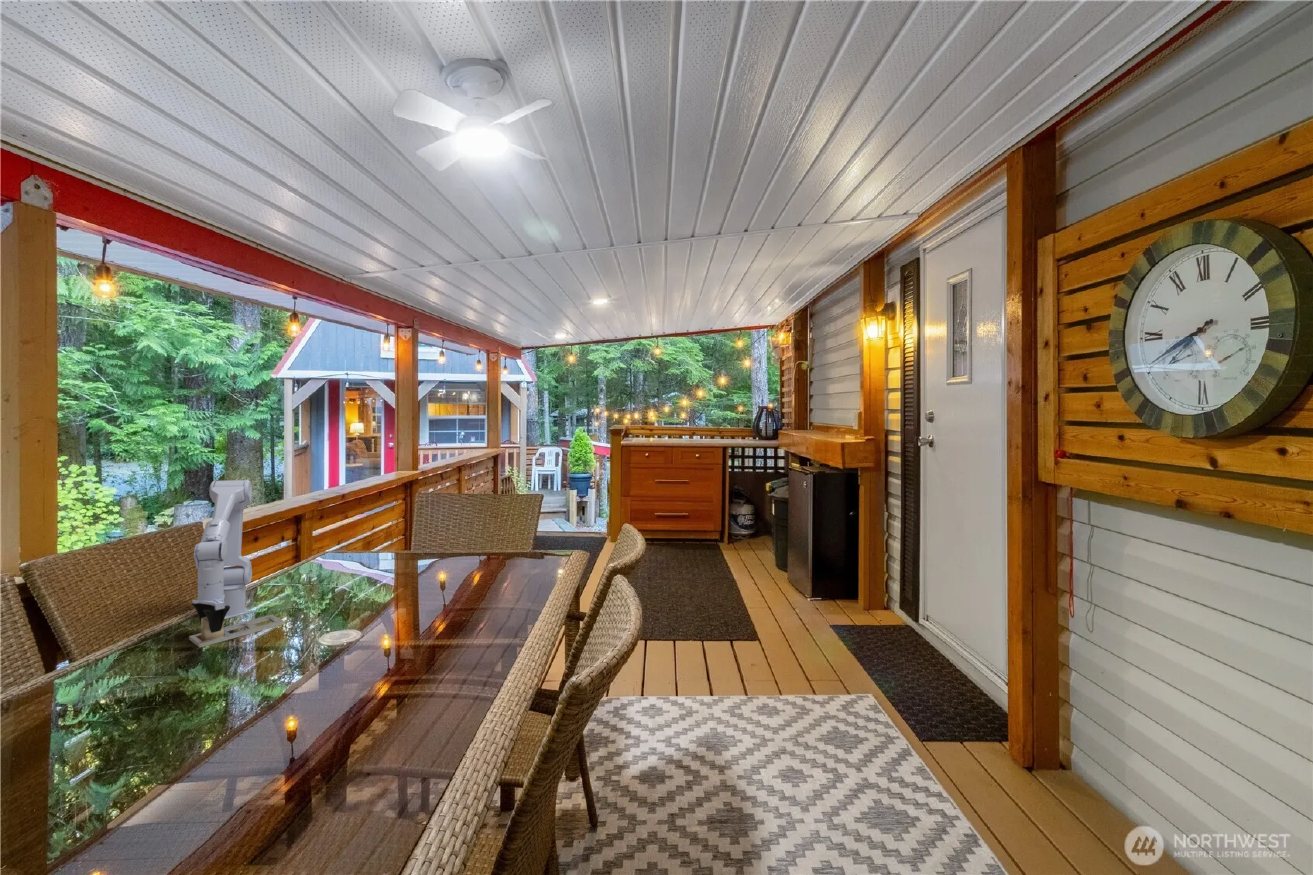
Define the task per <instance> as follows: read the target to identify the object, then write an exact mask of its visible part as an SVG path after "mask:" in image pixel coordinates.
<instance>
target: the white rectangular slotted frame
mask: <svg viewBox="0 0 1313 875" xmlns="http://www.w3.org/2000/svg"><path fill="white" fill-rule="evenodd" d="M267 621H272V622H269V623H265V624H261V625H259V626H257V625H255V624H260V623H263V622H267ZM284 622H285V621H284V620H283V619H281V618H279V617H277V616H276V615H274V614H269V615H265V616H262V617H258V618H253V619H250V620H246V621H242V622H238V623H234V624H230V625H227V626H224V636H221V637H217V638H213V639H209V640H206V641H204V640H203V639H201V632H200V633H196V634H193V635H189V636H188V640H189V641H190V642H192V643H193V644H194V645H195V646H197V647H198V648H203V647H206V646H210V645H214V644H217V643H221V642H225V641H228V640H232V639H235V638H239V637H243V636H246V635H250V634H254V633H257V632H261V631H265V630H268V629H272V628H275V627H279V626H282V625H284V624H285V623H284ZM245 627H246V628H247V629H244V630H240V631H236V632H232V633H230V631H233V630H238V629H241V628H245Z"/></svg>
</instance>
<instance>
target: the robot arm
mask: <svg viewBox="0 0 1313 875" xmlns="http://www.w3.org/2000/svg"><path fill="white" fill-rule="evenodd" d="M252 485H253V484H252V482H251V481H250V479H244V480H243V479H242V480H241V479H240V480H239V479H238V480H216V479H215V480H213V481H212V482H211V483H210V485H209V498H210V499H211V502H212V503H214V506H213V513H212V519H210V520H208V521H207V522H206V524H205V527H204V530H203V533H202V535H201V536H202V537H201V538H200V539H201V540H200V542H199V543H196V544H195V545H194V551H193V558H194V559H193V560H194V562H195V569H197V597H196V599H192V602H191V604H192V606H193V607H194V609H195V611H196V613H197V616H198V619H199V623H200V624H201V618H204V617H207V619H208V622H209V628H210V631H211V633H214V632H218V631H221V628H222V625H223V621H224V622H225V620H226V619H227V620H228V619H231V618H234V617H235V618H236V617H239V616H243V615H248V614H251V613H252V611H251V610H249V609H248V608H247V607H246V606H247V605H246V603H247V601H246V599H247V598H246V595H247V593H246V590H247V589H246V588H247V587H246V586H248V585H249V584H250V583H251V582H252V577H253V568H252V561H251V560H250V559H248V558H246V557H245V556H242V544H243V523H244V522H243V520H244V518H243V517H244V509H245V507H246V506H248V505H251V503H252V499H253V498H252V496H253V486H252Z"/></svg>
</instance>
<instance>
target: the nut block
mask: <svg viewBox="0 0 1313 875" xmlns="http://www.w3.org/2000/svg"><path fill="white" fill-rule="evenodd" d="M200 627H201V628H200V633H201V639H203V640H204V641H206V640H209V639H213V638H217V637H221V636H224V627H225V620H224V621H223V625H222V628H221V631H218V632H214V633H211V631H210V628H209V622H208V619H207V617H204V618H201V623H200Z"/></svg>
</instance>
